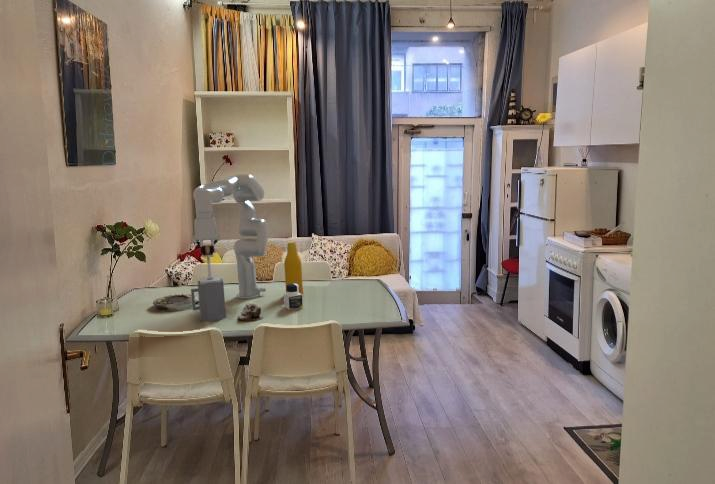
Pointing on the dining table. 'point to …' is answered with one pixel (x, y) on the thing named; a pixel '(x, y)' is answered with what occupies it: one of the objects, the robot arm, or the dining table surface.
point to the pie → (175, 302)
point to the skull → (250, 312)
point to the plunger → (208, 258)
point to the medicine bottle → (293, 297)
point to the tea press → (210, 299)
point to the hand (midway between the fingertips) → (207, 254)
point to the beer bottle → (293, 267)
